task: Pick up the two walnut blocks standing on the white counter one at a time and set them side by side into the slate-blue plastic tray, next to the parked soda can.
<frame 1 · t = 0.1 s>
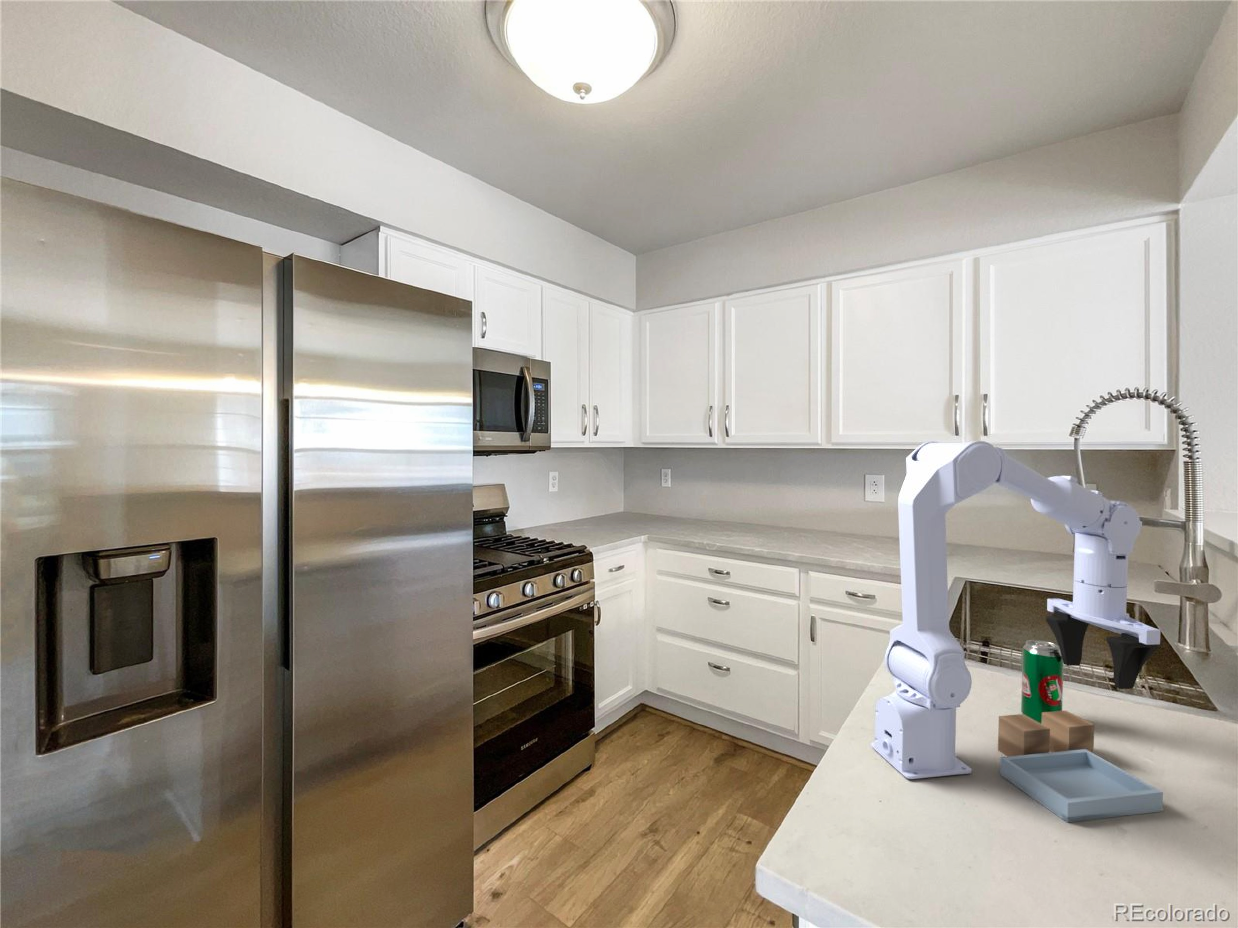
hand: (1096, 675, 77), 10 cm above the worktop, fingers open, 7 cm apart
tray: (1076, 791, 66), on the worktop
walnut block 2: (1066, 753, 75), on the worktop
walnut block 1: (1022, 757, 74), on the worktop
soda can: (1041, 720, 84), on the worktop
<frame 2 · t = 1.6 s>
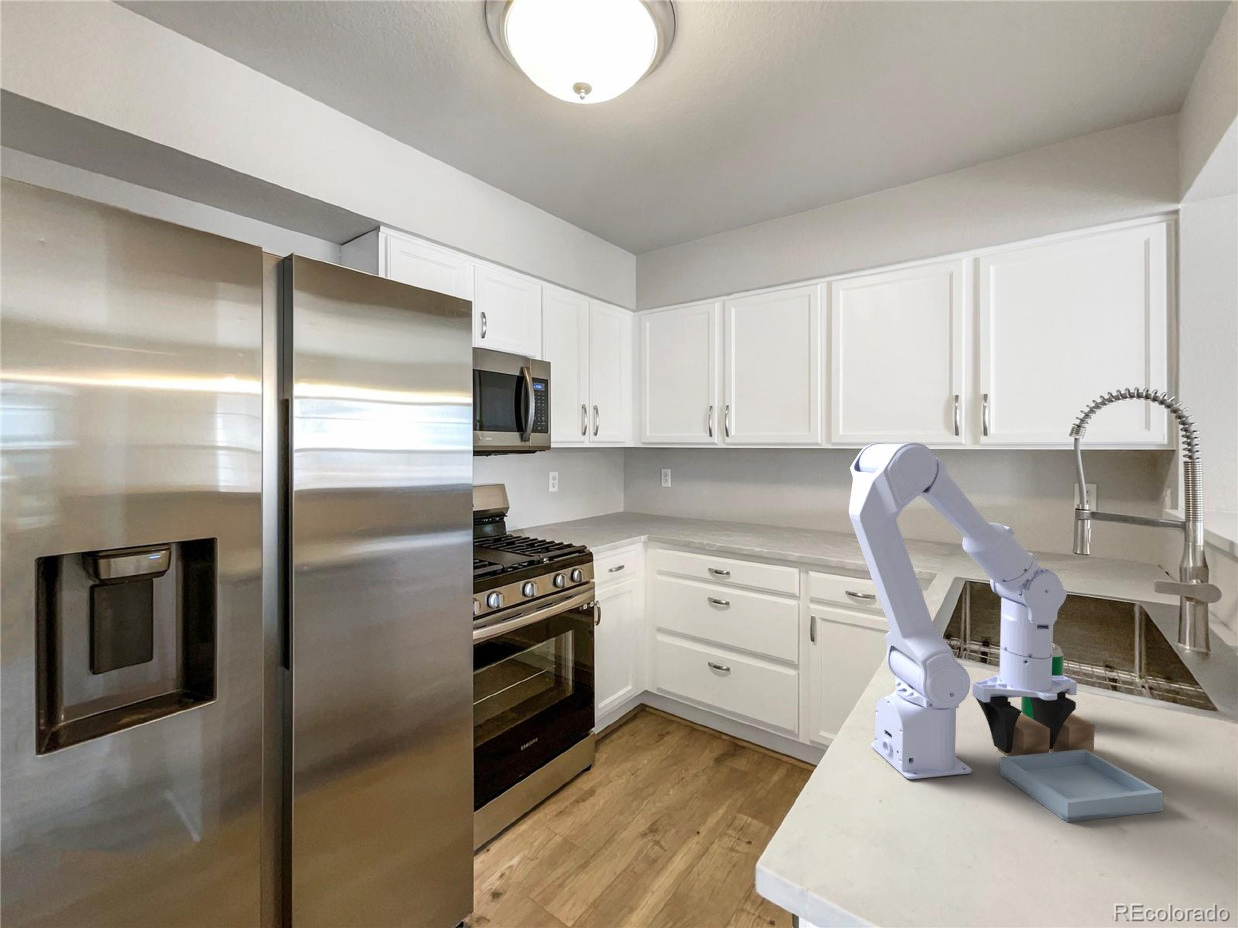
hand: (1023, 746, 74), 1 cm above the worktop, fingers open, 6 cm apart
nothing on the worktop moved.
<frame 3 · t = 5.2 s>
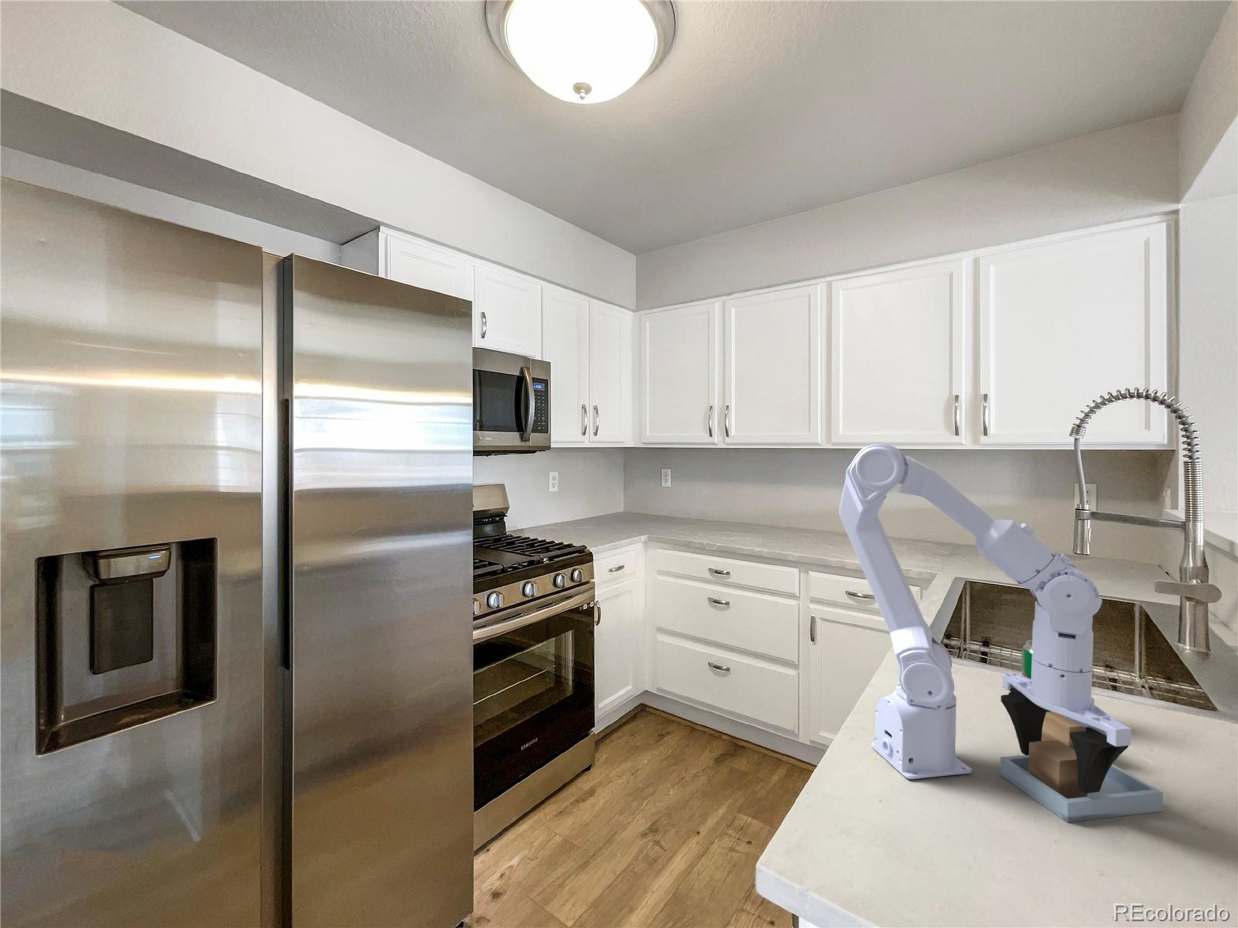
hand: (1058, 770, 66), 3 cm above the worktop, fingers open, 7 cm apart
walnut block 1: (1057, 789, 66), point 1 cm above the worktop, touching tray
everything else where it was.
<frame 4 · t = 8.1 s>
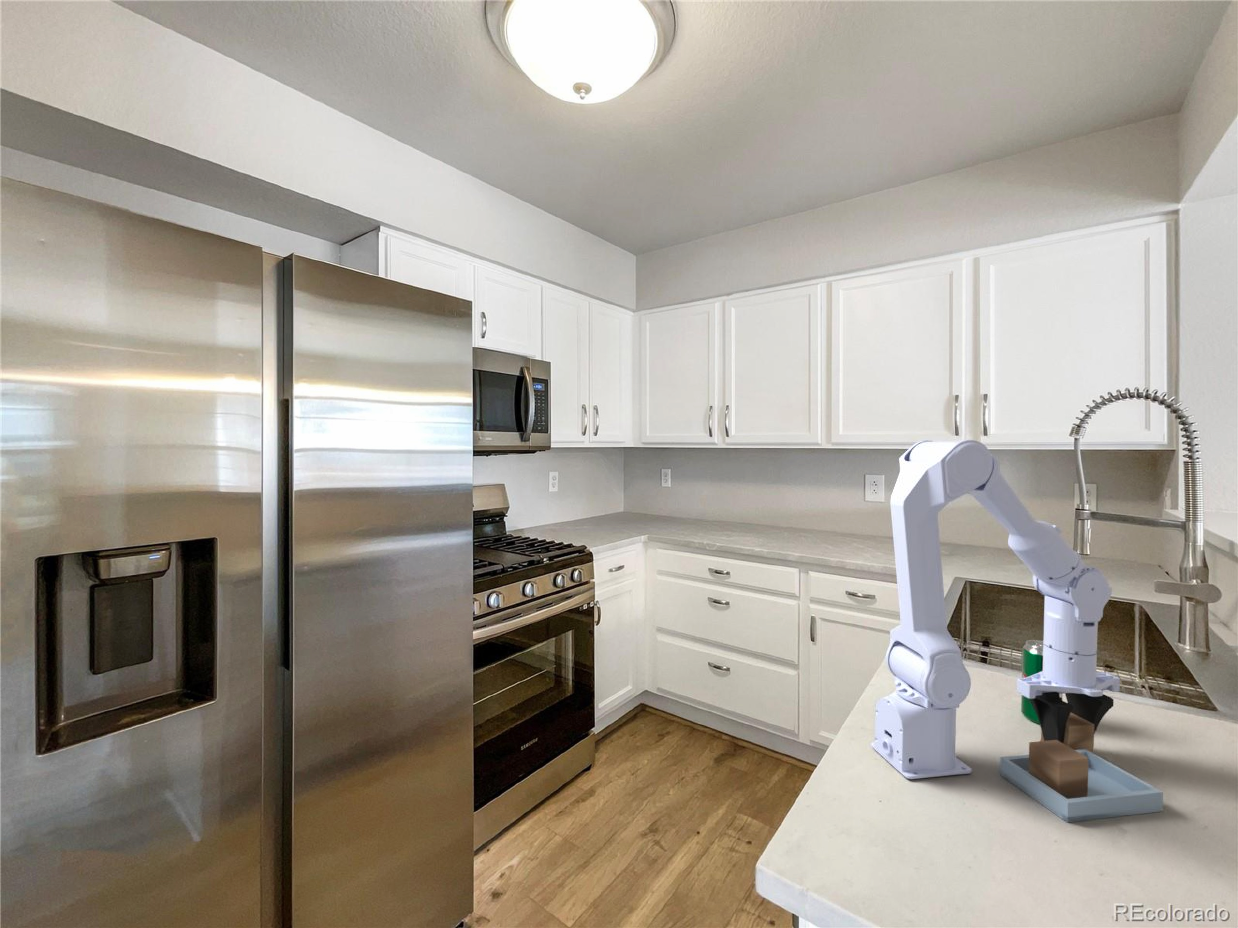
hand: (1066, 742, 75), 1 cm above the worktop, fingers closed on walnut block 2, 4 cm apart
walnut block 2: (1066, 752, 75), on the worktop, touching gripper
everything else where it was.
when the fingers open (3 cm above the worktop, at t = 10.7 s): walnut block 2 stays where it is, resting on tray.
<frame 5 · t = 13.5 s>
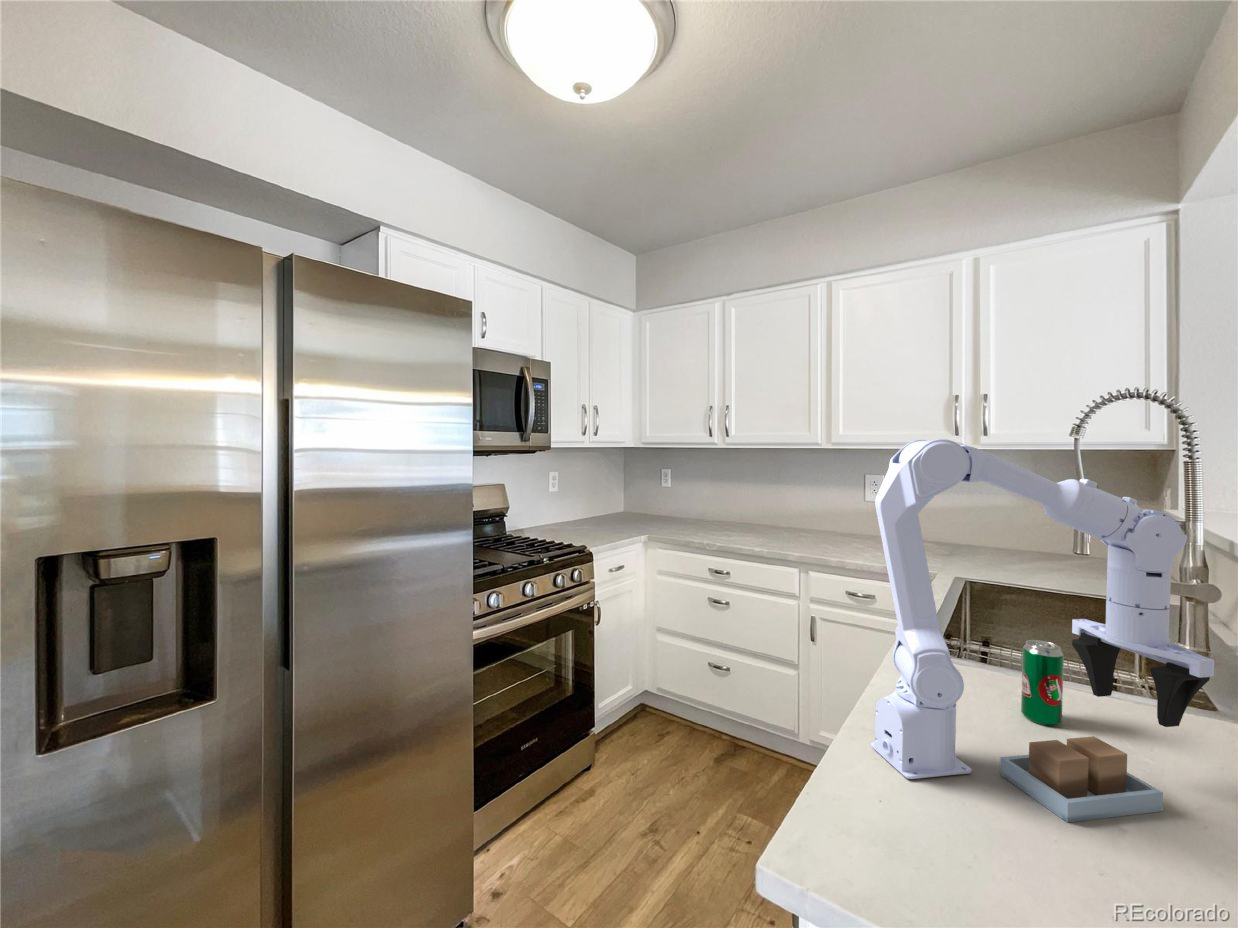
hand: (1133, 709, 67), 10 cm above the worktop, fingers open, 7 cm apart
walnut block 2: (1095, 784, 67), point 1 cm above the worktop, touching tray
everything else where it was.
at the end: walnut block 1 inside the target area on the tray (2.9 cm from its centre), point 0.6 cm above the tray's base; walnut block 2 inside the target area on the tray (2.6 cm from its centre), point 0.6 cm above the tray's base; walnut block 2 tilted 0° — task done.
